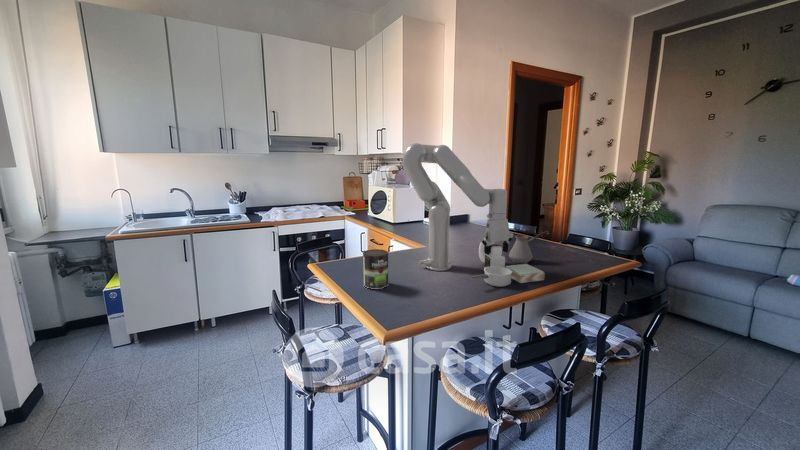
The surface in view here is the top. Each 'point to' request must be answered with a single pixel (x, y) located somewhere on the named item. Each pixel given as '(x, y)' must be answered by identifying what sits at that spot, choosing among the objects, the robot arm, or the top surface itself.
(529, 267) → the plinth
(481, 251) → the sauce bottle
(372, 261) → the coffee can
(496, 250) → the medicine bottle
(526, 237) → the coffee pot
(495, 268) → the saucepan
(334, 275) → the top surface
